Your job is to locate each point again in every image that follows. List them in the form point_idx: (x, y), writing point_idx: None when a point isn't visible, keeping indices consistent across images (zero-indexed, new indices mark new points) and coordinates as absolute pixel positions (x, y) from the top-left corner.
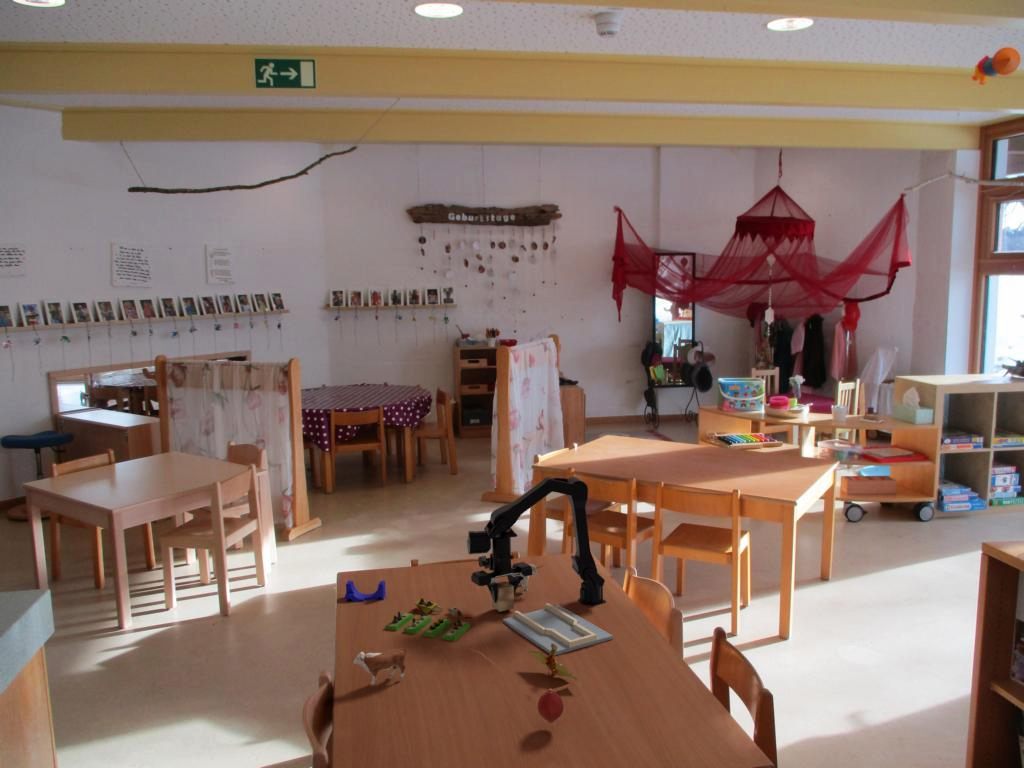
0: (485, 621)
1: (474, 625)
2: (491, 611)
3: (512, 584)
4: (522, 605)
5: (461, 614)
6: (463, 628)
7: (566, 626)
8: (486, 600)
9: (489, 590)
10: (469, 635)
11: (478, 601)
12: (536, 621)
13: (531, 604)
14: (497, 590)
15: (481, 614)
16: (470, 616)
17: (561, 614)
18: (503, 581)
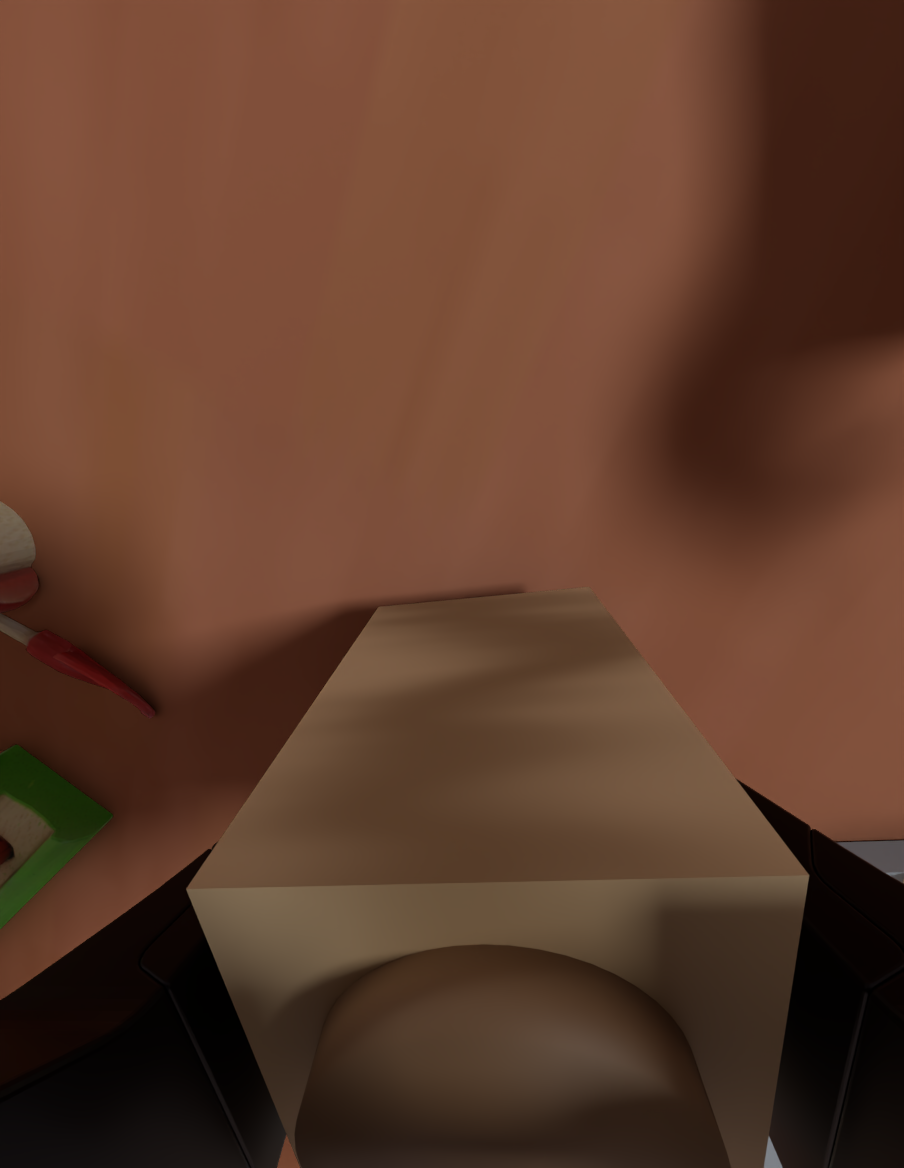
0: (257, 778)
1: (150, 804)
2: (381, 598)
3: (814, 1146)
4: (783, 596)
5: (26, 600)
6: (23, 894)
7: (769, 1160)
8: (450, 186)
9: (172, 892)
10: (92, 921)
11: (327, 173)
12: None
13: (897, 616)
14: (282, 1135)
15: (259, 623)
16: (113, 691)
17: None
18: (641, 1087)
